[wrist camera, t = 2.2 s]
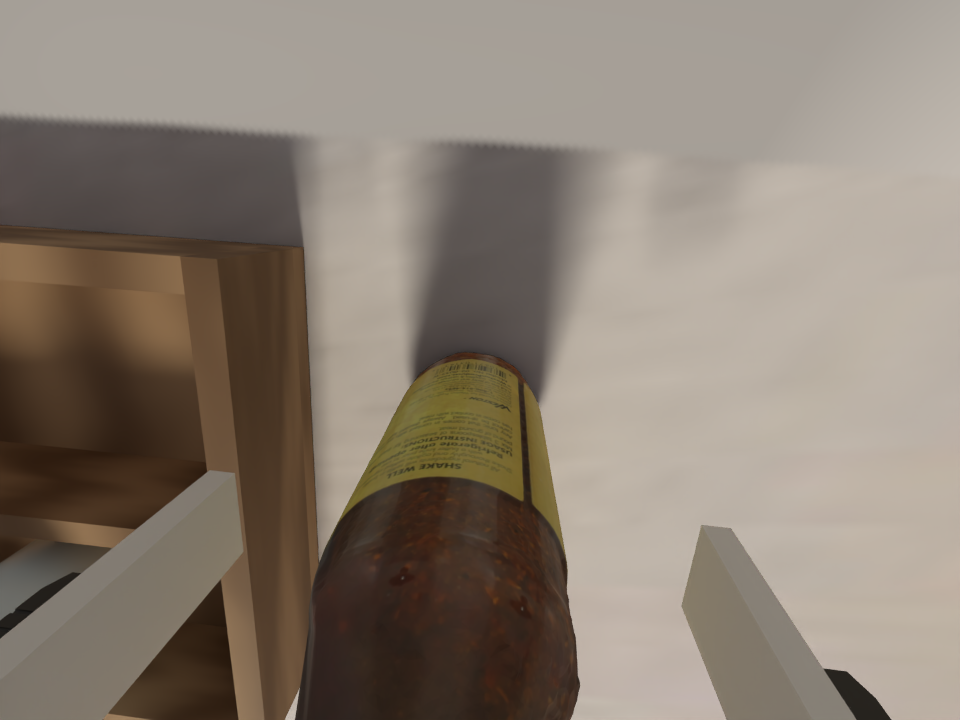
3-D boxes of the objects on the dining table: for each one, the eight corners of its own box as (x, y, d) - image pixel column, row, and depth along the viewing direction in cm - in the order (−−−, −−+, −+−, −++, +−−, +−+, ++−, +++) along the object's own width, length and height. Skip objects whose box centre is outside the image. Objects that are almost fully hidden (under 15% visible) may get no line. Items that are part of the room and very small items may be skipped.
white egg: (84, 587, 26) (-136, 773, 17) (61, 493, 24) (-196, 648, 15) (187, 600, 25) (17, 796, 17) (173, 505, 23) (-27, 670, 15)
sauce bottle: (381, 407, 22) (-457, 1567, 3) (473, 317, 20) (-124, 1617, 1) (479, 496, 23) (294, 1786, 4) (574, 417, 21) (998, 1964, 2)
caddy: (-3, 598, 28) (-138, 697, 22) (-121, 216, 21) (-356, 215, 16) (322, 639, 27) (268, 754, 21) (303, 247, 20) (217, 259, 14)
